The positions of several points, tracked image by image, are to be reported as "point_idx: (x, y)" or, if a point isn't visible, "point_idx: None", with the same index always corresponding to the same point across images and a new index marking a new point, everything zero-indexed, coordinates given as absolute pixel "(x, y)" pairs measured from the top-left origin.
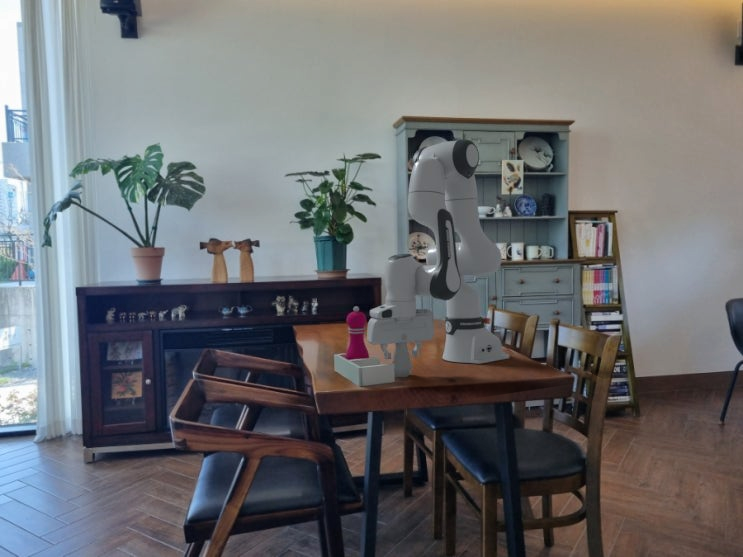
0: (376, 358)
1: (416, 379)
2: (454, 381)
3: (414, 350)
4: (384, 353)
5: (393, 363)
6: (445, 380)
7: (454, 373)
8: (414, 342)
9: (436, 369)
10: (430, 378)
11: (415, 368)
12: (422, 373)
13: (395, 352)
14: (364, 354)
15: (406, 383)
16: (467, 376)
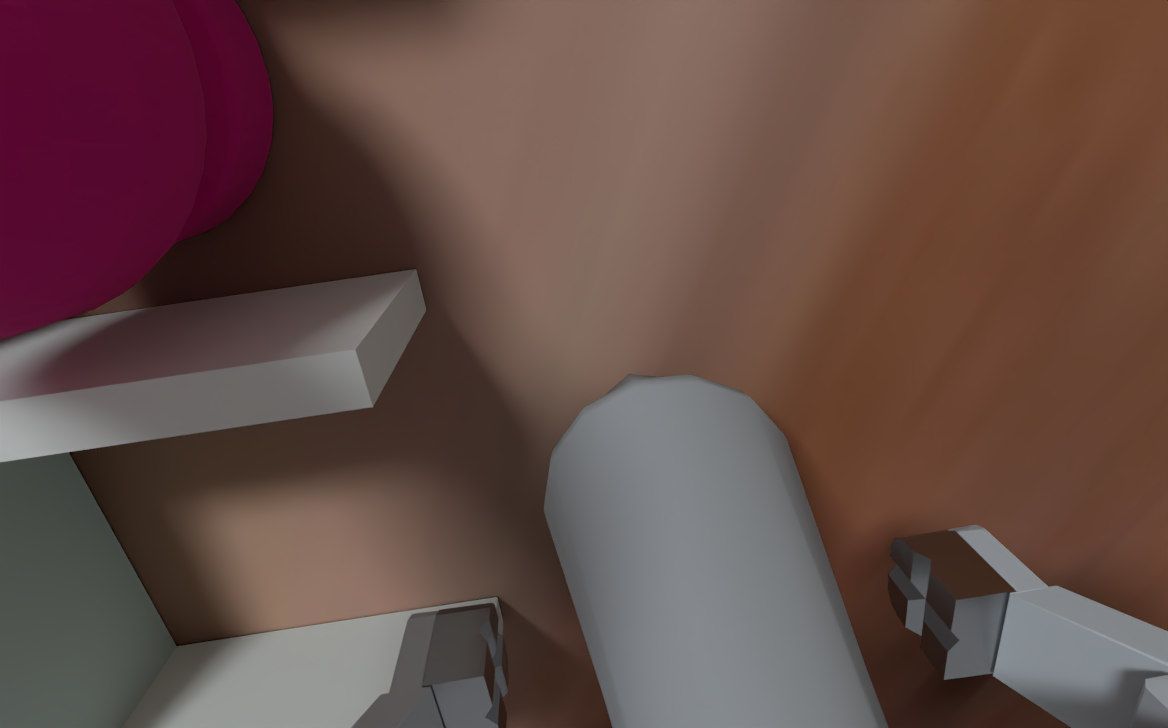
0: (312, 409)
1: None
2: (961, 696)
3: (979, 646)
4: (397, 691)
5: (559, 554)
6: (922, 662)
7: (1158, 488)
8: (1164, 717)
9: (1149, 275)
10: (854, 587)
11: (977, 128)
12: (898, 403)
13: (604, 695)
14: (7, 320)
15: (590, 672)
16: (1160, 601)
